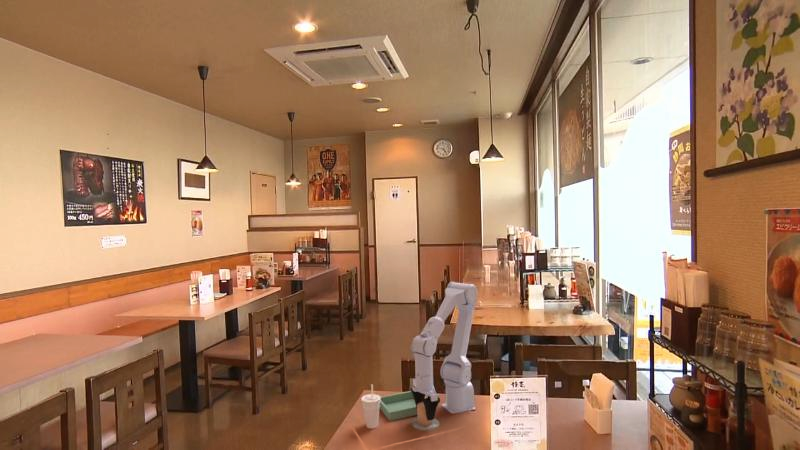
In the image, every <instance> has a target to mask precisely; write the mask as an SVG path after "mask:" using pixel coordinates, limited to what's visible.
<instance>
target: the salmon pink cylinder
mask: <svg viewBox="0 0 800 450" xmlns="http://www.w3.org/2000/svg"><path fill="white" fill-rule="evenodd" d="M416 416H417V417H416V418H417V420H418V425H419V426H422V427H428V426H431V425H432V420H429V421H428V420H427V417H426V410H425V406H424V403H423V402H420V403H418V404H417V415H416Z"/></svg>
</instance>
